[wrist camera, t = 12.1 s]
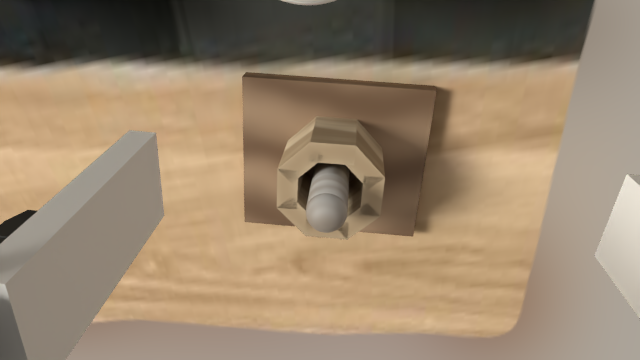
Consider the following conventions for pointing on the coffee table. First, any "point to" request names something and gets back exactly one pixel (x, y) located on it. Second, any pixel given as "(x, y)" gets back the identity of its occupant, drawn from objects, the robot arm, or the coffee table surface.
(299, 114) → the post base
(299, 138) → the collar
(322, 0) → the coffee cup
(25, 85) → the coffee table surface
